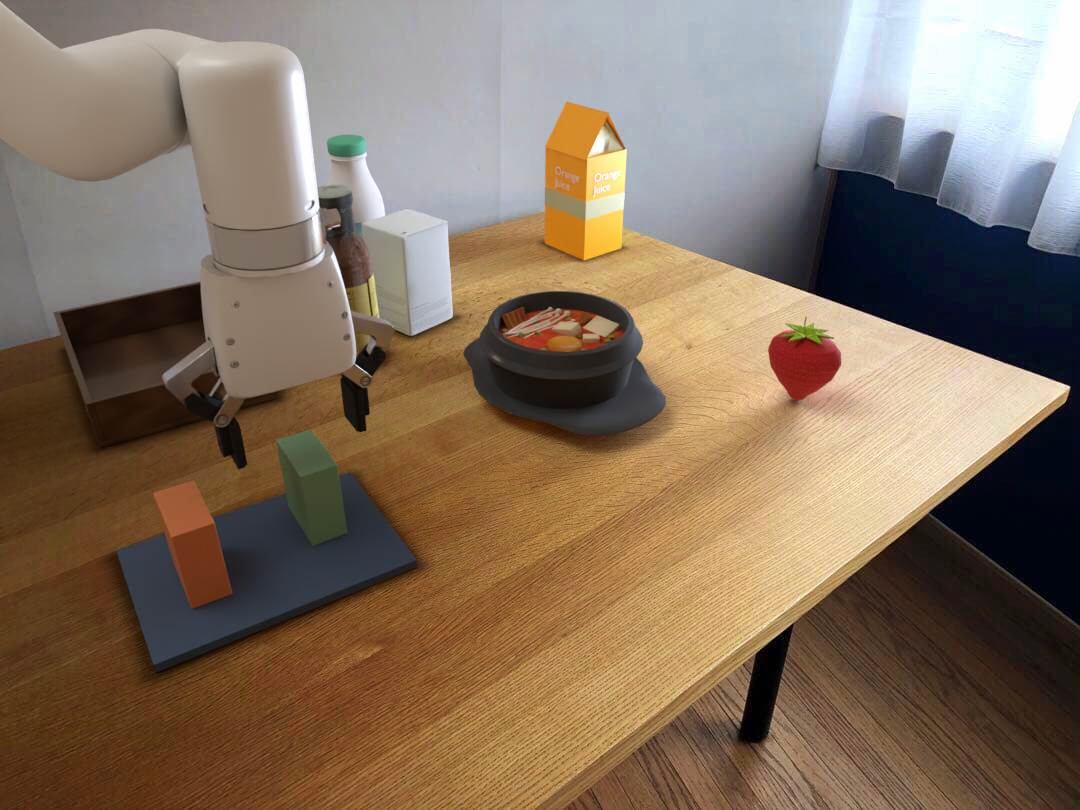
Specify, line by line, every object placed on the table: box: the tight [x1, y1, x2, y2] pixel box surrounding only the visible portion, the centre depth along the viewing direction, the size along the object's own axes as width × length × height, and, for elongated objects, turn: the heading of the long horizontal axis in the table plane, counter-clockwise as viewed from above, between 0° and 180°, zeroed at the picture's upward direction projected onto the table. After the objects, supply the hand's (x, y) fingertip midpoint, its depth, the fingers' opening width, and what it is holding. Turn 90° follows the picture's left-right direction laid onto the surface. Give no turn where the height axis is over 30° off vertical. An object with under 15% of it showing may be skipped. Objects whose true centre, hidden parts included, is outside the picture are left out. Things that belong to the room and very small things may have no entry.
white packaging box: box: [362, 208, 454, 337], centre depth 104 cm, size 7×7×13 cm
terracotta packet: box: [153, 480, 232, 609], centre depth 65 cm, size 3×6×7 cm, turn 32°
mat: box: [115, 471, 418, 673], centre depth 69 cm, size 20×14×1 cm
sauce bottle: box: [317, 185, 379, 357], centre depth 93 cm, size 6×6×20 cm
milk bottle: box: [326, 134, 386, 240], centre depth 109 cm, size 8×8×20 cm
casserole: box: [462, 290, 667, 437], centre depth 90 cm, size 25×19×8 cm
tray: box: [52, 281, 277, 449], centre depth 94 cm, size 17×23×5 cm
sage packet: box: [275, 429, 347, 546], centre depth 71 cm, size 3×6×7 cm, turn 32°
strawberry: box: [767, 315, 842, 401], centre depth 88 cm, size 6×8×10 cm
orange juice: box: [544, 101, 628, 261], centre depth 123 cm, size 8×9×20 cm
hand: (298, 441), depth 68 cm, fingers open, 9 cm apart
